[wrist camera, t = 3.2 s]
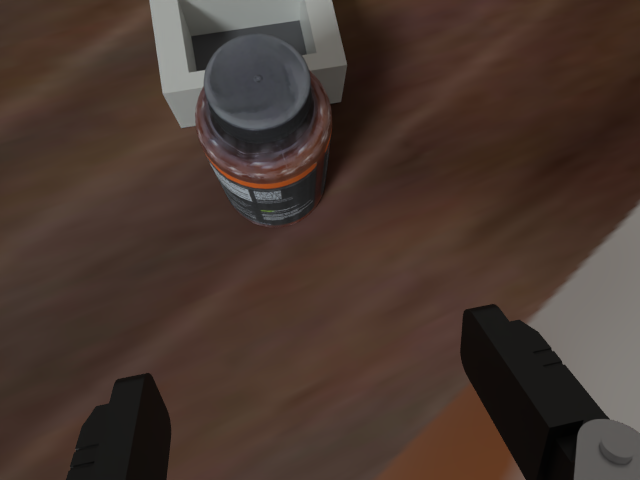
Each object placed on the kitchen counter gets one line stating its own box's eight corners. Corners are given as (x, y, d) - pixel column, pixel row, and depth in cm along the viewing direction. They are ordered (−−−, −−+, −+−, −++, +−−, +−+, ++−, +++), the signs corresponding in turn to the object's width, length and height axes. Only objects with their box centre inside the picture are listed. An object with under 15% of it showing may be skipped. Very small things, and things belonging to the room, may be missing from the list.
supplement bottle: (291, 120, 29) (286, -18, 18) (343, 198, 28) (371, 102, 17) (206, 167, 28) (147, 52, 17) (257, 249, 27) (228, 183, 16)
